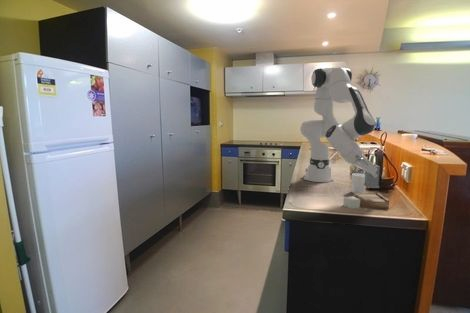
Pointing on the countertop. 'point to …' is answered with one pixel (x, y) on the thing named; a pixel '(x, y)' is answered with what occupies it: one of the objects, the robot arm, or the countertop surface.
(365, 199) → the stand
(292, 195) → the countertop surface
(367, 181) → the housing
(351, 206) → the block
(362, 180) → the white cup
